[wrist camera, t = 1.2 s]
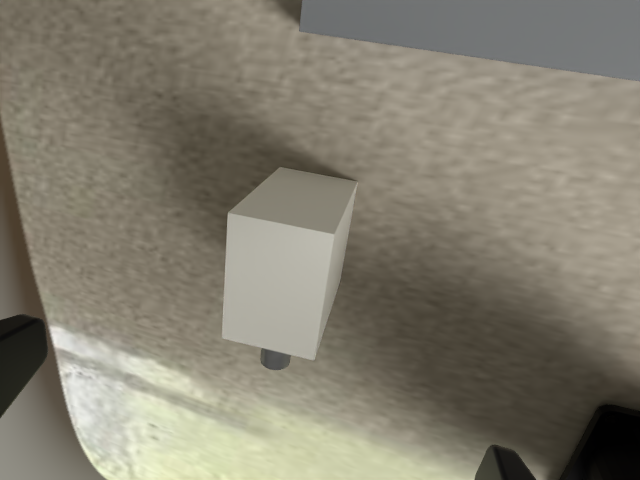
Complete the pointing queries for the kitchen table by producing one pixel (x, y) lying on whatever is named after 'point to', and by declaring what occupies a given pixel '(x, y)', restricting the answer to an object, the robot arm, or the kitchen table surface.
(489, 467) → the robot arm
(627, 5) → the socket plate
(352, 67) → the kitchen table surface
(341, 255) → the plug
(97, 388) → the kitchen table surface
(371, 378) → the kitchen table surface
